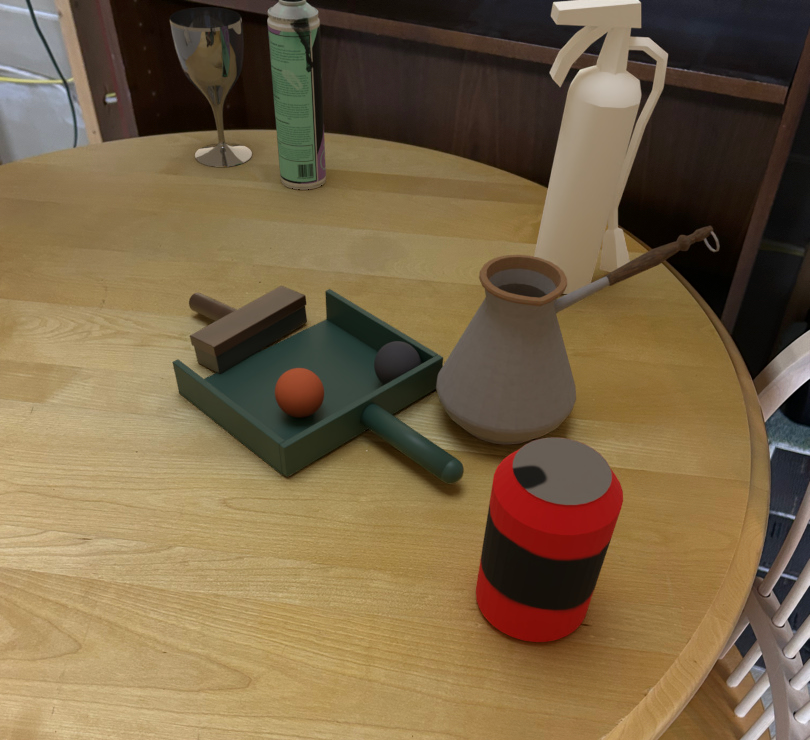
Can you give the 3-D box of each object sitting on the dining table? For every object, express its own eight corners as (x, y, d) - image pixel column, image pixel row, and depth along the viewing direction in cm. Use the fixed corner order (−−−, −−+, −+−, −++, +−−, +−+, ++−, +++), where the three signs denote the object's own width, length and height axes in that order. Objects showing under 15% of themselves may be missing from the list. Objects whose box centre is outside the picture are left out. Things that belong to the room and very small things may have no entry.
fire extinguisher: (636, 295, 82) (715, 10, 63) (519, 297, 81) (564, 8, 62) (619, 262, 86) (687, -14, 68) (508, 263, 85) (546, -16, 67)
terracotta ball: (260, 372, 65) (286, 385, 62) (302, 356, 67) (328, 367, 64) (271, 417, 67) (297, 431, 64) (311, 399, 69) (337, 412, 66)
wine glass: (178, 160, 100) (154, 21, 88) (213, 137, 105) (194, 3, 93) (234, 173, 98) (217, 32, 87) (267, 149, 103) (254, 13, 92)
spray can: (335, 180, 97) (329, -16, 82) (302, 194, 94) (289, -6, 80) (304, 166, 100) (292, -27, 85) (271, 179, 97) (253, -17, 82)
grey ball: (394, 349, 65) (407, 395, 67) (423, 333, 68) (434, 378, 69) (359, 351, 68) (372, 396, 69) (388, 336, 70) (400, 379, 72)
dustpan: (178, 392, 69) (171, 361, 66) (331, 318, 77) (329, 288, 75) (376, 550, 57) (376, 519, 55) (529, 443, 66) (535, 412, 63)
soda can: (458, 572, 56) (475, 440, 47) (555, 547, 58) (589, 417, 49) (502, 658, 51) (530, 530, 42) (606, 629, 53) (654, 500, 44)
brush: (153, 341, 74) (145, 314, 72) (242, 294, 80) (237, 267, 78) (219, 375, 70) (213, 347, 68) (309, 322, 76) (305, 295, 74)
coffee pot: (459, 471, 63) (479, 300, 52) (416, 384, 70) (426, 219, 59) (698, 428, 68) (763, 263, 57) (635, 351, 75) (681, 191, 64)
